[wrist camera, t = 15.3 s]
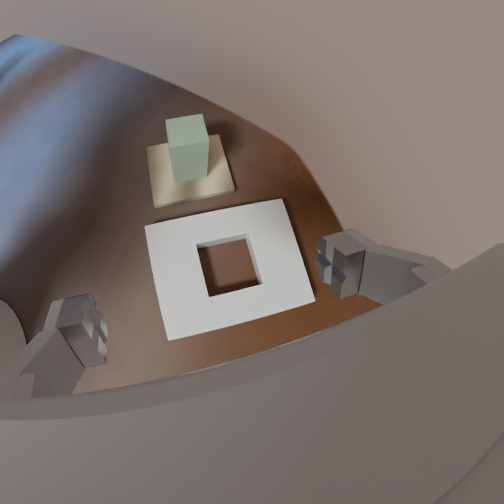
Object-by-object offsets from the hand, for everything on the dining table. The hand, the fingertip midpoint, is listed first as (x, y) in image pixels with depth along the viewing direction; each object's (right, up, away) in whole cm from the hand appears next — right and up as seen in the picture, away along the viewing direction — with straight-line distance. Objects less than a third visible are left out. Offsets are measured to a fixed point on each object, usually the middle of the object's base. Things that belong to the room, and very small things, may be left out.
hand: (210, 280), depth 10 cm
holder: (-2, -1, +26) cm, 26 cm away
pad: (-8, +13, +29) cm, 33 cm away
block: (-7, +13, +28) cm, 32 cm away
